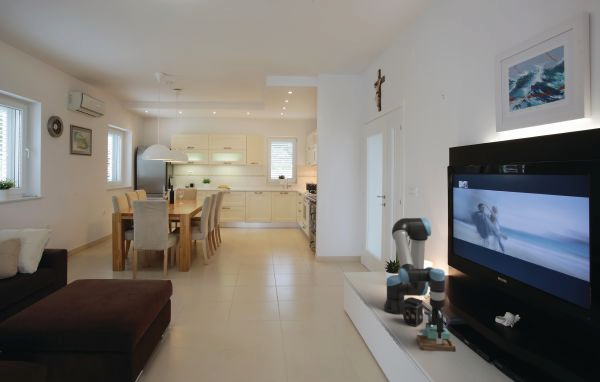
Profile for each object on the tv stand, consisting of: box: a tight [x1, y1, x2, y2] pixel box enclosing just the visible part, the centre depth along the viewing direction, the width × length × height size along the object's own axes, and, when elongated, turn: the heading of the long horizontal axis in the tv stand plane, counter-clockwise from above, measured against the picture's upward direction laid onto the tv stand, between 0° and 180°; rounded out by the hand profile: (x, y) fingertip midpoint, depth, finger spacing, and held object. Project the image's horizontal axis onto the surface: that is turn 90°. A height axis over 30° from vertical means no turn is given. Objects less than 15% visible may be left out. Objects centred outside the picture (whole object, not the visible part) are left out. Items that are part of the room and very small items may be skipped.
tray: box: [416, 334, 456, 352], centre depth 191 cm, size 13×17×2 cm
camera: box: [402, 296, 424, 327], centre depth 220 cm, size 10×11×15 cm
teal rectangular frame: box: [421, 326, 451, 340], centre depth 191 cm, size 13×7×3 cm, turn 83°
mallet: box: [424, 310, 433, 328], centre depth 206 cm, size 5×6×12 cm
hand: (437, 340), depth 191 cm, fingers closed on teal rectangular frame, 7 cm apart
